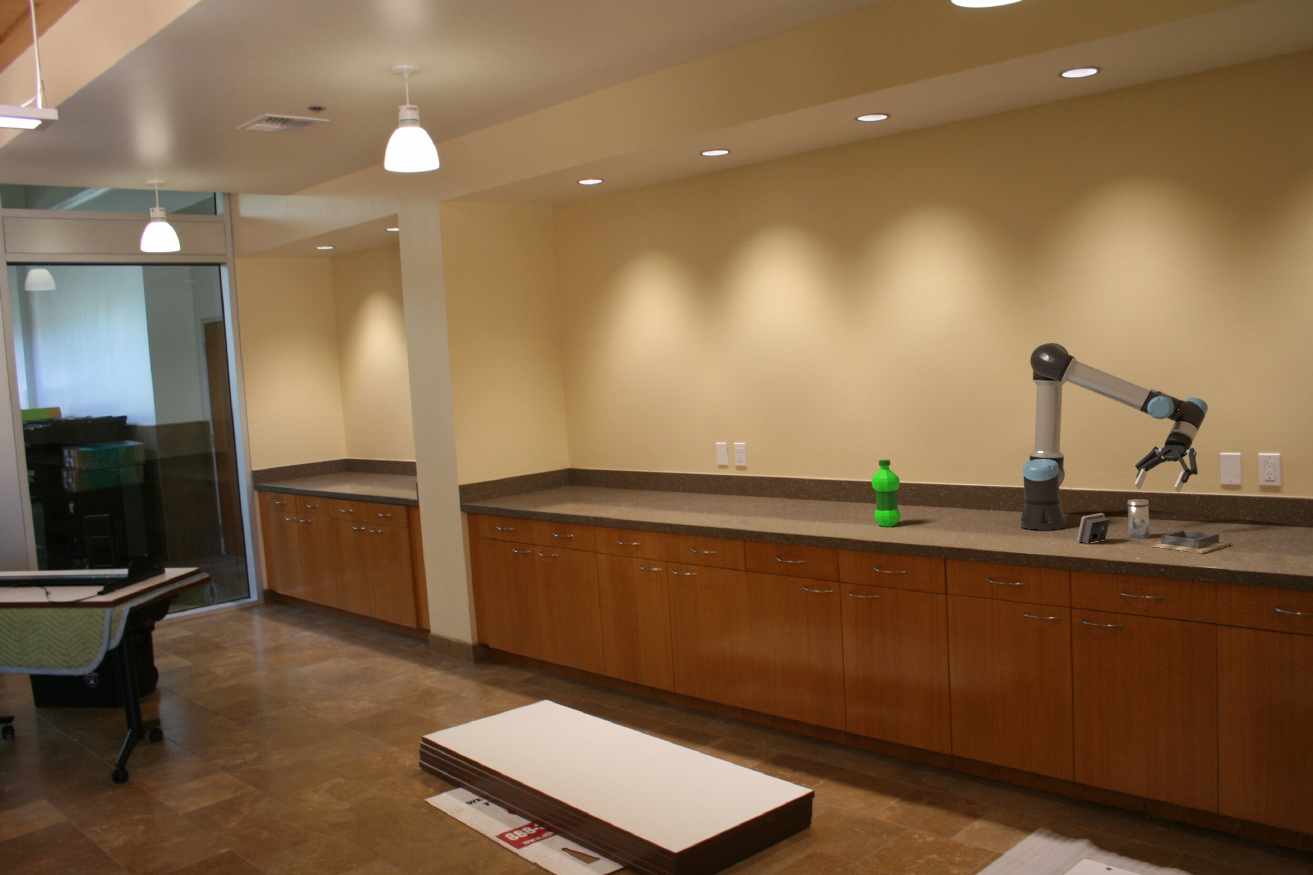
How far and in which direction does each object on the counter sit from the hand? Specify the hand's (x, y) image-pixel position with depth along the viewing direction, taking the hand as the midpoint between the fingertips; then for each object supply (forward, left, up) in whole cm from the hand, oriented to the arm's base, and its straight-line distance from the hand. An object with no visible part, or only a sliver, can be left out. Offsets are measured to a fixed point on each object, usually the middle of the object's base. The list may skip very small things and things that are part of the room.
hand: (1156, 488), depth 316 cm
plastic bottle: (-80, -43, -15) cm, 92 cm away
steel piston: (0, -10, -15) cm, 18 cm away
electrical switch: (-6, -25, -15) cm, 30 cm away
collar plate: (+19, -14, -15) cm, 28 cm away
